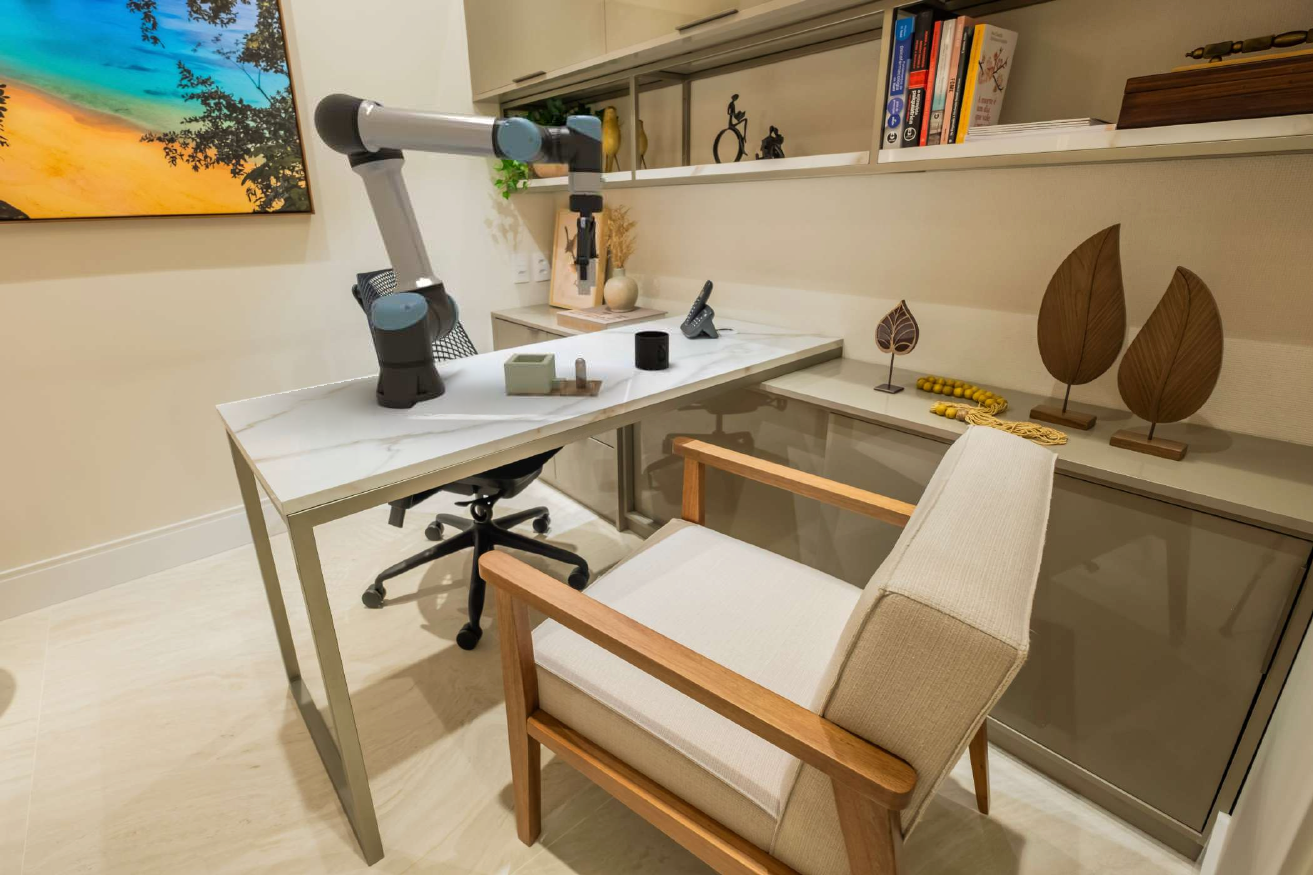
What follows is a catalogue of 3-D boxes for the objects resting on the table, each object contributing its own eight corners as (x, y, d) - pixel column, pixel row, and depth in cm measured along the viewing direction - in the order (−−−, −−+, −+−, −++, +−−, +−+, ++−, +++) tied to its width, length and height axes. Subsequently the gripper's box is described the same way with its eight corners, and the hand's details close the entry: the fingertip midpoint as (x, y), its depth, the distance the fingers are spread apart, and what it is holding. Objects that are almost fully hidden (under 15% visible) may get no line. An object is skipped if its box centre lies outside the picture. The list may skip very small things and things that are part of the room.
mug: (650, 374, 167) (650, 341, 164) (628, 364, 176) (628, 333, 173) (680, 369, 171) (680, 337, 168) (657, 360, 181) (657, 329, 178)
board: (506, 400, 145) (505, 383, 144) (519, 384, 158) (518, 368, 156) (596, 401, 145) (596, 384, 143) (602, 385, 157) (602, 368, 156)
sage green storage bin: (506, 392, 147) (503, 363, 145) (516, 381, 156) (513, 353, 154) (561, 393, 147) (559, 364, 144) (568, 381, 156) (566, 353, 154)
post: (575, 388, 150) (574, 359, 148) (577, 385, 153) (575, 356, 150) (585, 388, 150) (584, 359, 148) (587, 385, 153) (586, 356, 150)
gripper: (597, 194, 128) (598, 299, 136) (607, 194, 152) (607, 283, 159) (560, 193, 128) (564, 298, 136) (576, 193, 152) (578, 283, 159)
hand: (587, 290), depth 148 cm, fingers open, 13 cm apart
